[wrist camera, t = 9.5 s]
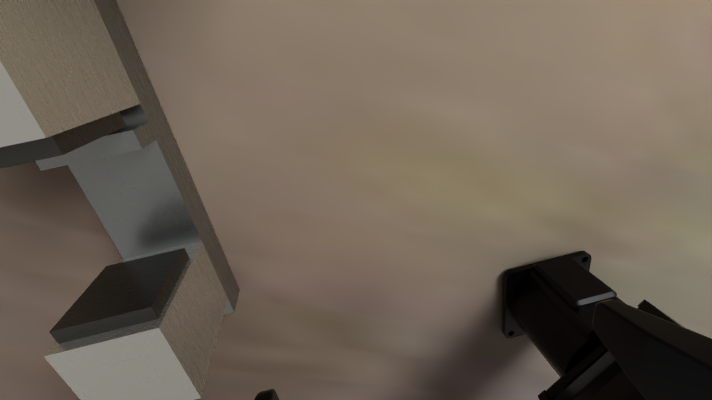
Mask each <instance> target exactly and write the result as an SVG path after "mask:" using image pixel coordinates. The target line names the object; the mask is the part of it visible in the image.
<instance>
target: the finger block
mask: <svg viewBox="0 0 712 400" xmlns="http://www.w3.org/2000/svg"><path fill="white" fill-rule="evenodd" d="M138 104H140V101H139V99H138V97H137V95H136V93H135V90H134V88H133V86H132V84H131V81H130V79H129V77H128V75H127V73H126V70H125V68H124V66H123V64H122V61H121V59H120V57H119V55H118V53H117V50H116V48H115V46H114V44H113V42H112V39H111V37H110V35H109V33H108V30H107V28H106V26H105V24H104V22H103V19H102V17H101V15H100V13H99V10H98V8H97V6H96V4H95V2H94V0H0V168H4V167H9V166H14V165H19V164H23V163H28V162H33V161H37V160H42V159H47V158H52V157H56V156H61V155H64V154H66V153H69V152H71V151H73V150H75V149H77V148H79V147H82V146H84V145H86V144H88V143H90V142H92V141H95V140H97V139H99V138H101V137H103V136H105V135H108V134H110V133H112V132H114V131H116V130H118V129H121V128H123V127H125V126H126V124H125V122H124V120H123V118H122V116H121V114H120V112H119V111H122V110H124V109H127V108H130V107H133V106H135V105H138Z"/></svg>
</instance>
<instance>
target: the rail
mask: <svg viewBox="0 0 712 400" xmlns="http://www.w3.org/2000/svg"><path fill="white" fill-rule="evenodd" d="M94 2H95V4H96V6H97V8H98V10H99V13H100V15H101V17H102V19H103V22H104V24H105V26H106V28H107V30H108V33H109V35H110V37H111V39H112V42H113V44H114V46H115V48H116V50H117V53H118V55H119V57H120V59H121V61H122V64H123V66H124V68H125V70H126V73H127V75H128V77H129V79H130V81H131V84H132V86H133V88H134V90H135V93H136V95H137V97H138V99H139V101H140V104H138V105H135V106H133V107H130V108H127V109H124V110H122V111H119V112H120V114H121V116H122V118H123V120H124V122H125V124H126V126H125V127H123V128H121V129H118V130H116V131H114V132H112V133H110V134H108V135H105V136H103V137H101V138H99V139H97V140H95V141H92V142H90V143H88V144H86V145H84V146H82V147H79V148H77V149H75V150H73V151H71V152H69V153H66V154H64V155H61V156H56V157H52V158H47V159H42V160H37V161H35V162H36V164H37V165H38V167H39V169H40V170H41V171H43V170H47V169H52V168H57V167H61V166H66V165H68V167H69V168H70V170H71V172H72V173H73V175H74V177H75V178H76V180H77V182H78V184H79V185H80V187H81V189H82V190H83V192H84V194H85V195H86V197H87V199H88V200H89V202H90V204H91V205H92V207H93V209H94V211H95V212H96V214H97V216H98V217H99V219H100V221H101V222H102V224H103V226H104V227H105V229H106V231H107V233H108V234H109V236H110V238H111V239H112V241H113V243H114V244H115V246H116V248H117V249H118V251H119V253H120V254H121V256H122V258H123V260H122V262H121V263H118V264H114V265H110V266H106V267H105V269H104V270H103V271H102V272H101V273H100V274H99V275H98V277H97V278H96V279H95V280H94V281H93V282H92V284H91V285H90V286H89V287H88V288H87V289H86V290H85V292H84V293H83V294H82V295H81V296H80V297H79V298H78V300H77V301H76V302H75V303H74V304H73V305H72V306H71V308H70V309H69V310H68V311H67V312H66V313H65V315H64V316H63V317H62V318H61V319H60V320H59V321H58V323H57V324H56V325H55V326H54V327H53V328H52V329H51V331H50V334H51V335H52V336H53V337H54V339H55V340H56V342H55V343H54V345H53V346H52V347H51V348H50V350H49V351H48V352H47V353H46V354H45V356H44V358H45V359H46V360H47V361H48V362H49V363H50V365H51V366H52V367H53V368H54V369H55V370H56V372H57V373H58V374H59V375H60V376H61V378H62V379H63V380H64V381H65V382H66V383H67V385H68V386H69V387H70V388H71V389H72V390H73V392H74V393H75V394H76V395H77V396H78V397H79V399H80V400H195V399H199V398H201V396H202V393H203V389H204V385H205V382H206V378H207V374H208V371H209V367H210V364H211V360H212V356H213V353H214V349H215V345H216V342H217V338H218V334H219V331H220V327H221V324H222V320H223V316H224V315H225V314H229V313H233V312H234V310H235V306H236V302H237V298H238V294H239V288H238V285H237V283H236V281H235V278H234V276H233V274H232V271H231V269H230V267H229V264H228V262H227V260H226V257H225V255H224V253H223V250H222V248H221V246H220V243H219V241H218V239H217V236H216V234H215V232H214V229H213V227H212V225H211V222H210V220H209V218H208V215H207V213H206V211H205V208H204V206H203V204H202V201H201V199H200V196H199V194H198V192H197V189H196V187H195V185H194V182H193V180H192V178H191V175H190V173H189V171H188V168H187V166H186V164H185V161H184V159H183V157H182V154H181V152H180V150H179V147H178V145H177V143H176V140H175V138H174V136H173V133H172V131H171V129H170V126H169V124H168V122H167V119H166V117H165V115H164V112H163V110H162V108H161V105H160V103H159V101H158V98H157V96H156V94H155V91H154V89H153V87H152V84H151V82H150V80H149V77H148V75H147V73H146V70H145V68H144V66H143V63H142V61H141V59H140V56H139V54H138V52H137V49H136V47H135V45H134V42H133V40H132V37H131V35H130V33H129V30H128V28H127V26H126V23H125V21H124V19H123V16H122V14H121V12H120V9H119V7H118V5H117V2H116V0H94Z"/></svg>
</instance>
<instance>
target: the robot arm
mask: <svg viewBox="0 0 712 400" xmlns="http://www.w3.org/2000/svg"><path fill="white" fill-rule="evenodd" d="M590 262H591V255H590V254H588V253H587V252H585V251H580V252H576V253H572V254H568V255H564V256H560V257H556V258H552V259H549V260H545V261H541V262H537V263H533V264H529V265H525V266H521V267H517V268H513V269H510V270H507V271H506V272H505V273H504V276H503V326H502V331H503V334H504V335H505V336H506V337H507V338H512V337H516V336H520V335H524V334H526V335H527V336H528V337H529V338H530V340H531V341H532V342H533V343H534V345H535V346H536V347H537V349H538V350H539V351H540V352H541V354H542V355H543V356H544V357H545V359H546V360H547V361H548V362H549V364H550V365H551V366H552V367H553V369H554V370H555V371H556V372H557V374H558V375H559V376H560V377H561V378H560V379H559V380H557V381H556V382H555V383H554V384H553V385H552V386H551V387H550V388H549V389H547V390H546V391H545V390H544V391H543V392H541V393H540V394H539V395H538V398H539V400H712V339H711V338H708V337H706V336H703V335H701V334H699V333H696V332H694V331H691V330H689V329H686V328H684V327H683V326H682V325H680V324H679V323H677V322H676V321H675V320H673V319H672V318H670V317H669V316H667V315H666V314H665V313H663V312H662V311H660V310H659V309H657V308H656V307H655V306H653V305H652V304H650V303H649V302H648V301H646V300H645V299H644V300H643V301H642V302H641V303H640V304H639V305H638V307H639V308H634V307H632V306H629V305H627V304H625V303H624V302H623V301H621V300H620V299H619V298H618V297H616V296H617V293H616V292H615V291H614V290H612V289H611V288H610V287H608V286H607V285H606V284H605V283H603V282H602V281H601V280H599V279H598V278H597V277H595V276H594V275H593V274H592V273H590V272H589V269H590ZM511 276H512V277H511ZM254 400H279V398H278V396H277V393H276V391H275V390H274V389H270V390H266V391H262V392H260V393H258V394H257V396H256V397H255V399H254Z"/></svg>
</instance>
